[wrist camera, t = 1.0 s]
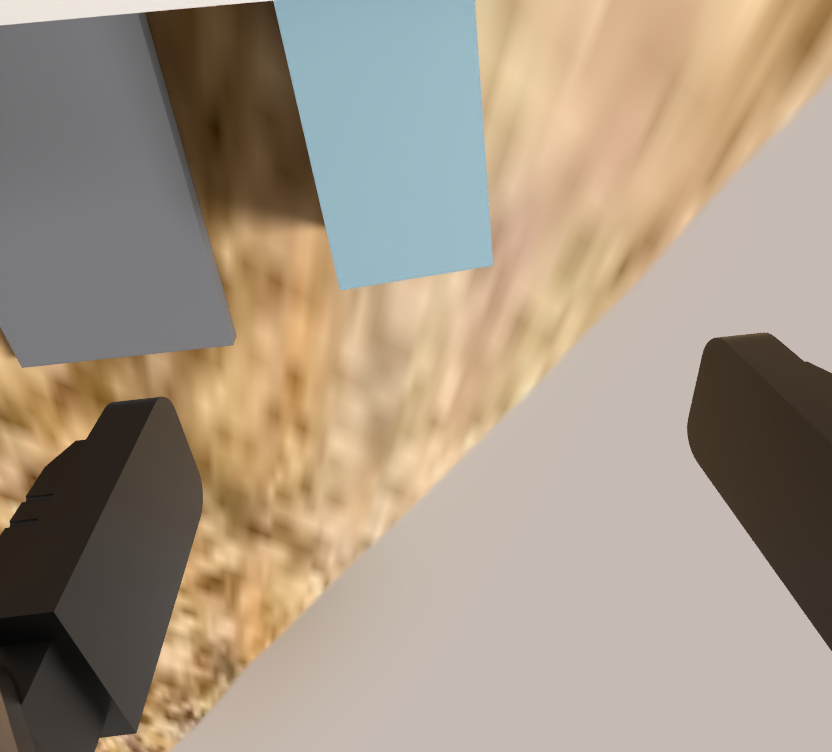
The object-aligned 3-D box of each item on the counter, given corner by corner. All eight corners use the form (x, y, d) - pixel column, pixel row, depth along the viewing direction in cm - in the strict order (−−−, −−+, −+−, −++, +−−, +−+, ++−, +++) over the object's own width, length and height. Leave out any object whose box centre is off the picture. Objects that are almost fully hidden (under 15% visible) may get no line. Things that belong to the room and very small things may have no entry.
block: (259, -165, 17) (221, -223, 12) (427, -194, 17) (456, -263, 12) (343, 226, 24) (340, 290, 19) (464, 206, 24) (492, 265, 19)
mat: (-237, -157, 17) (-261, -163, 16) (89, -184, 17) (78, -191, 16) (30, 357, 26) (22, 367, 25) (236, 335, 26) (233, 345, 26)
